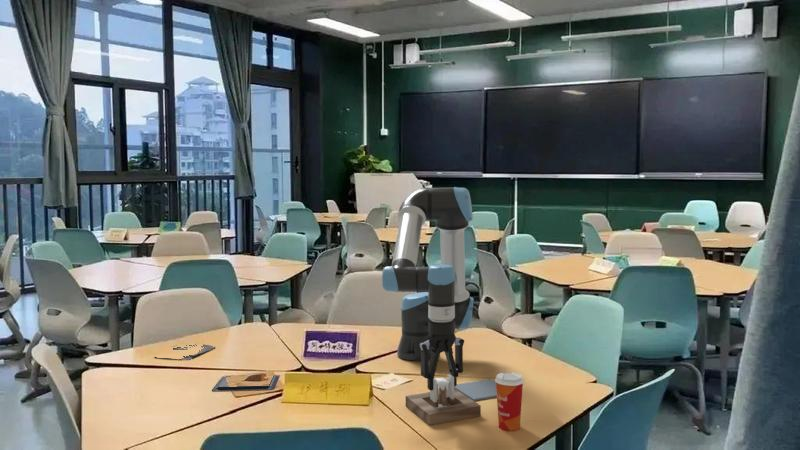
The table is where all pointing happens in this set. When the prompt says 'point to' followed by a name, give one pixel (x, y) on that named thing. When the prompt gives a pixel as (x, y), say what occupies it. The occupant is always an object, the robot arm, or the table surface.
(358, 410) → the table surface
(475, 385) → the mat
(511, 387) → the paper cup
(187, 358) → the terrain model
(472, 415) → the pocket block
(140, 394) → the table surface
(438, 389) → the milkshake
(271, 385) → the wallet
